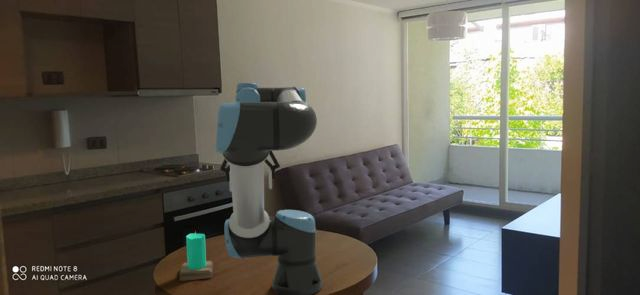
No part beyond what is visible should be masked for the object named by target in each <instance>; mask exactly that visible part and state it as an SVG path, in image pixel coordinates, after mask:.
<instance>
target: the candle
mask: <svg viewBox="0 0 640 295" xmlns="http://www.w3.org/2000/svg"><path fill="white" fill-rule="evenodd" d="M185 238H186V239H185V240H186V259H187V260H186V261H187V262H186V263H187V264H188V268H189V269H192V270H197V269H202V268H204V267H206V261H207V252H206V248H207V247H206V235H205V233H197V232H196V230H195V232H194V233H189V234H187V235H186V236H185Z"/></svg>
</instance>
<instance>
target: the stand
mask: <svg viewBox="0 0 640 295" xmlns="http://www.w3.org/2000/svg"><path fill="white" fill-rule="evenodd" d="M180 268H181V269H180V271H179V281H180V282H182V281H193V280H203V279H205V280H206V279H212V278H213V269H214V262H213V261H212V260H206V267H204V268H202V269H197V270H192V269H189V268H188V264H187V262H184V263H182V265H181V267H180Z"/></svg>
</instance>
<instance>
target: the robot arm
mask: <svg viewBox="0 0 640 295" xmlns="http://www.w3.org/2000/svg"><path fill="white" fill-rule="evenodd" d="M306 98H307V97H306V90H305V88H303V87H298V86H297V87H296V86H292V87H286V86H285V87H259V84H258V83H257V82H239V83H238V82H237V85H236V95H235V101H234V102H225V103H222V104H220V105H219V106H218V108H217V121H216V133H215V134H216V137H215V152H217V153H220V154H222V156H223V158H224V159H223V161H222V163H221V166H220V168H219V170H220V171H222V172H225V180H226V182H227V183H229V184H228V185H229V192H231V198H232V211H233V212H232V213H231V215H230V217H229V218H228V219H226V220H225V222H224V228H223V229H224V239H225V248H226V251H227V253H228V256H230V257H231V258H233V259H247V258H259V257H263V258H264V257H276V256H277V264H276V268H275V270H274V271H275V272H274V275H273V279H272V290H273V292H274V293H276V294H278V295H314V294H316V293H318V292H319V291H321V289H322V288H323V278H322V275H321V272H320V269H319V267H318V263H317V258H316V257H317V255H316V254H317V250H316V247H317V245H316V232H317V229H316V220H315V217H314V216H313V215H312V214H310V213H309V212H306V211H302V210H298V209H297V210H296V209H280V210H277V211H276V214H275V216H269V213H268V212H267V211H266V210H265V176H264V175H265V169H264V168H265V167H264V166H265V164H266V165H267V167H269V169H268V189H269V190H272V189H273V180H275V178H276V174H275V172H276V169H279V168H280V167H281V165H280V163H279V162H278V160H277V158H276V156H275V154H274V152H273V151H285V150H291V149H294V148H296V147H299V146H300V145H302V144H303V143H305V142H306V141H307V140H309V139H310V138H311V136H312V135H314V132H315V130H316V128H317V124H318V122H317V121H318V120H317V115H316V112H315V109H313V107H312V106H311V105H310V104H309V103H307V99H306ZM268 157H270V158H271V161H272V162H273V163H271V161H270V160H269V159H268ZM264 163H265V164H264ZM228 164H229V165H228ZM227 165H228V166H227ZM226 166H227V167H226Z"/></svg>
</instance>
